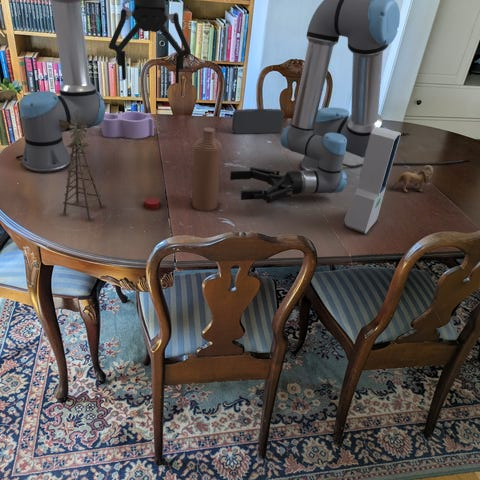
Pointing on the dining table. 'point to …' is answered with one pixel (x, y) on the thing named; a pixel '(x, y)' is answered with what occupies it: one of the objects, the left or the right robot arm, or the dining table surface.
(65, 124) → the miniature windmill
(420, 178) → the lion figurine
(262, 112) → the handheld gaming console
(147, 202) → the cap
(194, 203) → the bottle
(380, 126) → the right robot arm
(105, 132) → the clip
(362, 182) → the electronic device
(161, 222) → the dining table surface
